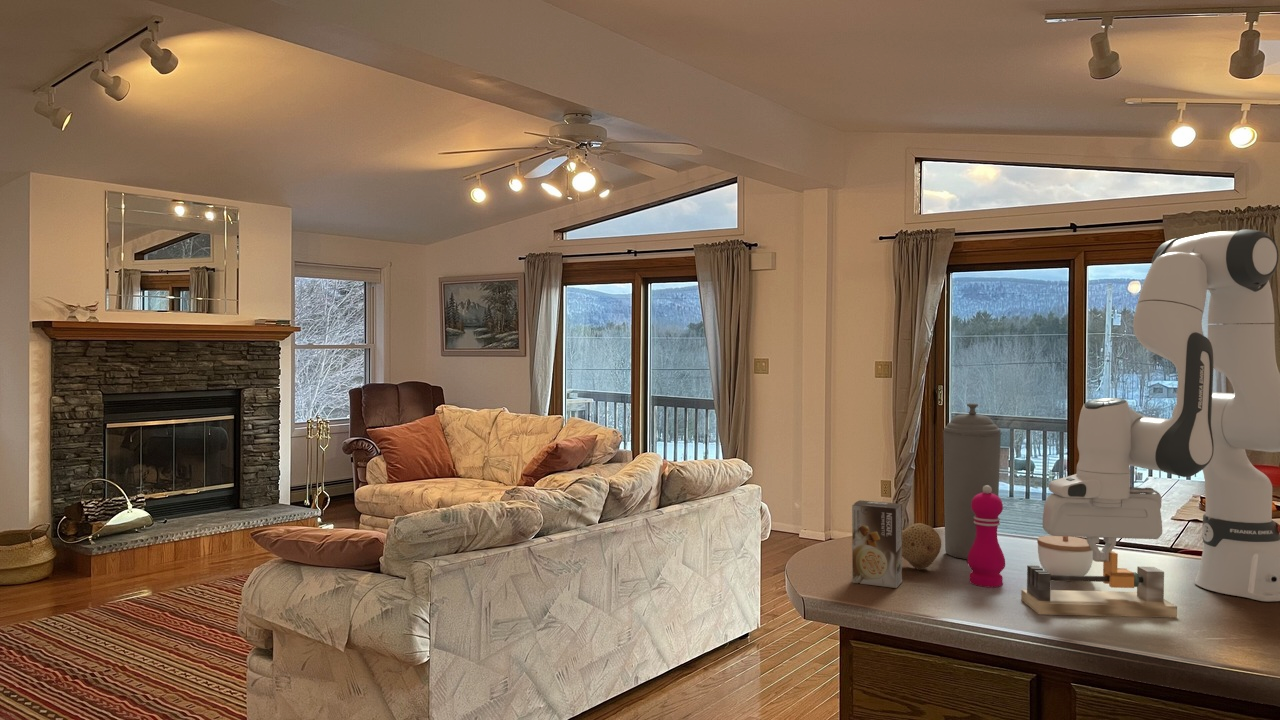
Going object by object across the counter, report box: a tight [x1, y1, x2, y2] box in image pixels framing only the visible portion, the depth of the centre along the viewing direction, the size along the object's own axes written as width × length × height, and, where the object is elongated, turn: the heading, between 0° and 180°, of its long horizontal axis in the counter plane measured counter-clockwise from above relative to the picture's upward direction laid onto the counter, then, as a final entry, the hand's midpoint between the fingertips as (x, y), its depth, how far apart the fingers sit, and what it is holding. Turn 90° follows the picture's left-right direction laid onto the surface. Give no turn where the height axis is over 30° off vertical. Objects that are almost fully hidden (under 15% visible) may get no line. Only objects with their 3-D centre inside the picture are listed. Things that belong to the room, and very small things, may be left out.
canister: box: [942, 402, 1003, 560], centre depth 206 cm, size 13×13×35 cm
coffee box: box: [851, 499, 903, 589], centre depth 183 cm, size 9×6×16 cm
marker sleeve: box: [1102, 550, 1135, 589], centre depth 165 cm, size 4×3×6 cm
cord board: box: [1020, 564, 1178, 618], centre depth 166 cm, size 24×9×8 cm, turn 86°
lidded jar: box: [1036, 534, 1094, 576], centre depth 187 cm, size 11×11×9 cm
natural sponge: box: [902, 522, 942, 570], centre depth 193 cm, size 9×9×10 cm
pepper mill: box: [966, 485, 1006, 588], centre depth 182 cm, size 7×7×20 cm
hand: (1100, 561), depth 165 cm, fingers closed
